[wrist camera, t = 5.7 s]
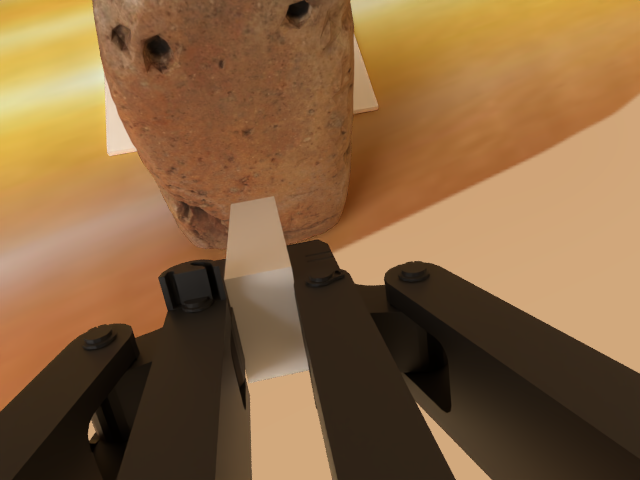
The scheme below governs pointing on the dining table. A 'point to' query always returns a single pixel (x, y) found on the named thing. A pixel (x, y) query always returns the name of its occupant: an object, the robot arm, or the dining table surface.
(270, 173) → the block
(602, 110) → the dining table surface
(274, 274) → the robot arm
